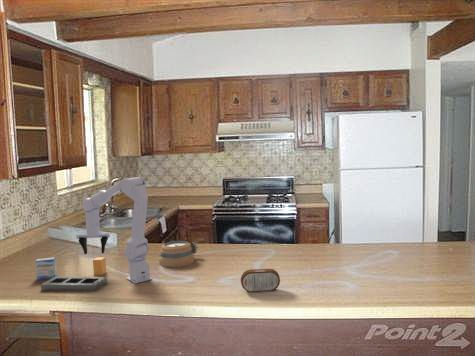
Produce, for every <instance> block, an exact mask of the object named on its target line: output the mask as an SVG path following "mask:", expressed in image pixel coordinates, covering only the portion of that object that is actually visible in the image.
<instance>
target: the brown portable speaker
mask: <svg viewBox="0 0 475 356" xmlns="http://www.w3.org/2000/svg"><path fill="white" fill-rule="evenodd" d="M280 277H281V276H280V275H279V273H278V271H276V270H275V269H273V268H258V269H256V268H255V269H247V270H245V271H244V272H242V275H241V276H240V283H241V287H242V289H243V290H245V291H246V292H247V293H259V292H262V293H264V292H265V293H266V292H273V291H275V290H276V289H278V287H279V286H280V283H281V278H280Z"/></svg>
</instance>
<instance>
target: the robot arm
mask: <svg viewBox="0 0 475 356" xmlns="http://www.w3.org/2000/svg"><path fill="white" fill-rule="evenodd" d="M120 192H121V193H123V194H124V195H126V196H127V197H128V198H130V199H132V201H133V213H132V223H131V233H130V238H129V239H128V240H127V242H126V246H125V248H124V251H123V254H124V257H125V258H126V260H127V261H128V271H129V276H126V279H127V280H128V281H130V282H132V283H133V284H138V283H143V282H147V281H151V280H152V279H153V277H151V273H150V265H149V263H148V261H147V254H148V252H149V251H150V249H149V245H148V242H149V241H148V239H147V238H146V237H145V233H146V221H147V212H148V202H149V201H148V200H149V196H148V192H147V182H146V181H145V179H144V178H143V177H141V176H135V177H129V178H123V179H122V180H119V181H118V182H116V183H115V184H113V185H112V186H111V187H109V188H108V189H107V190H106V189H99V190H98V191H97V193H95V194H92V195H90V197H88V198H84V199H83V200H82V203H81V206H82V209H83V211H85V213H84V214H85V215H84V216H85V228H86V232H84V233H83V232H82V233H77V234H75V236H76V237H75V238H76V240H78V243H79V244H80V246H81V247H82V251H83V253H84V255H87V254H88V247H87V246H88V245H87V243H88V242H87V241H88V239H93V238H95V239H97V238H100V245H101V246H100V247H101V254H105V249H106V245H107V241H108V239H109V238H110V237H111V232H110V231H109V232H107V231H105V232H104V231H100V230H101V228H100V227H101V226H100V212H101V211H100V209H101V207H102V206H103V205H105V204H106V203H108V202H110V201H111V198H112V197H113V196H115V195H117V194H119V193H120Z"/></svg>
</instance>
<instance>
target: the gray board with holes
mask: <svg viewBox="0 0 475 356" xmlns="http://www.w3.org/2000/svg"><path fill="white" fill-rule="evenodd" d="M106 284H108V277H107V276H56V277H53V278H49V279H47V280H46V281H45V282H43V283H41V284H40V288H41V289H40V290H41V291H52V292H53V291H55V292H56V291H57V292H60V291H61V292H65V291H66V292H97V291H98V290H99V289H101V288H102V287H104V286H105V285H106Z"/></svg>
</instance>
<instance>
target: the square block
mask: <svg viewBox="0 0 475 356" xmlns="http://www.w3.org/2000/svg"><path fill="white" fill-rule="evenodd" d="M106 263H107V262H106V257H101V256H100V257H98V256H97V257H95V258H94V259H92V265H93V276H94V275H95V276H103V275H105V274H106V273H107V264H106Z"/></svg>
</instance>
